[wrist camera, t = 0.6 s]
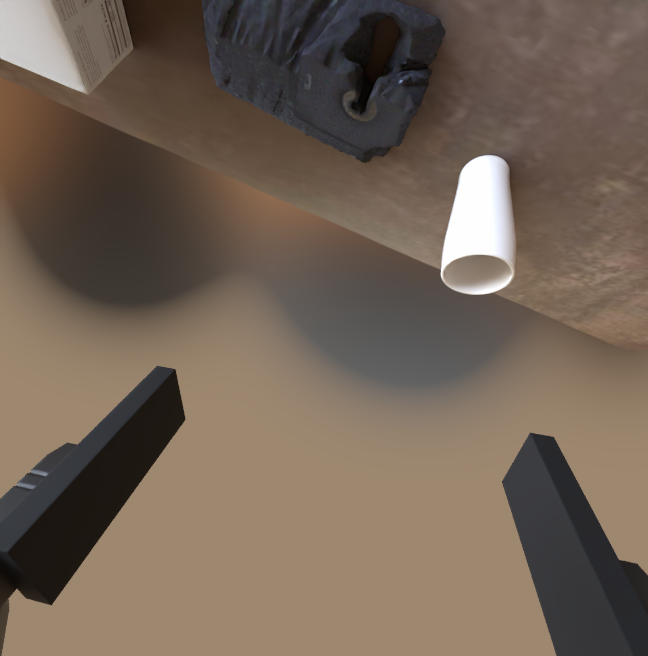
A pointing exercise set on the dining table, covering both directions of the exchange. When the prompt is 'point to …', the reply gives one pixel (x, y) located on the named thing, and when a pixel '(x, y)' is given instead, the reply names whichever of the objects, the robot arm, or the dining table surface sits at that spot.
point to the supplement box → (65, 39)
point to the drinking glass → (481, 230)
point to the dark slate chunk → (324, 66)
